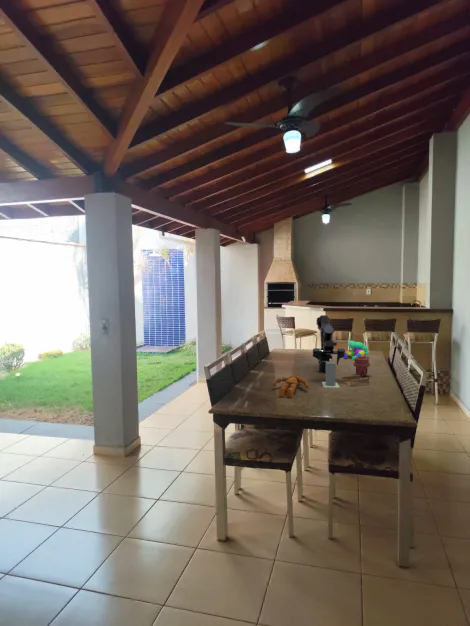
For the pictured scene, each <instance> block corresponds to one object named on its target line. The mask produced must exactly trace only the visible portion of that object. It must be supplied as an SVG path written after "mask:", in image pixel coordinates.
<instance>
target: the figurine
mask: <svg viewBox="0 0 470 626" xmlns="http://www.w3.org/2000/svg"><path fill="white" fill-rule="evenodd" d="M347 344H348V345H347V346H348V348H350V350H347V351H345V354H344V357H343V358H344V360H347V359H348V357H350V358H351V359H352V361H355V358H356V357H359V356H364V357H366V356H368V355H369V353H370V350H368V349H369V348H368V346H367V345H366V344H364V343H363V342H361V341H355V340H350V341H348V343H347Z"/></svg>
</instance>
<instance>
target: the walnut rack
mask: <svg viewBox="0 0 470 626" xmlns="http://www.w3.org/2000/svg"><path fill="white" fill-rule="evenodd" d="M341 383H342V384H344V385H347V386H350V387H351V388H352V387H359V386H369V385H370V378H369V377H365V378H364V377H362V378H361V376H360V375H357V374H355V375H347V376H344V375H343V376H341Z"/></svg>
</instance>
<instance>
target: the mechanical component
mask: <svg viewBox="0 0 470 626" xmlns="http://www.w3.org/2000/svg"><path fill="white" fill-rule="evenodd" d="M369 360H370V359H369V357H366V356H365V357H364V356H359V357H356V358H355V360H354V362H353V366H354V367H355V375H360V378H364V377H365V376H367V374H368V368H369V367H371V362H369Z"/></svg>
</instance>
